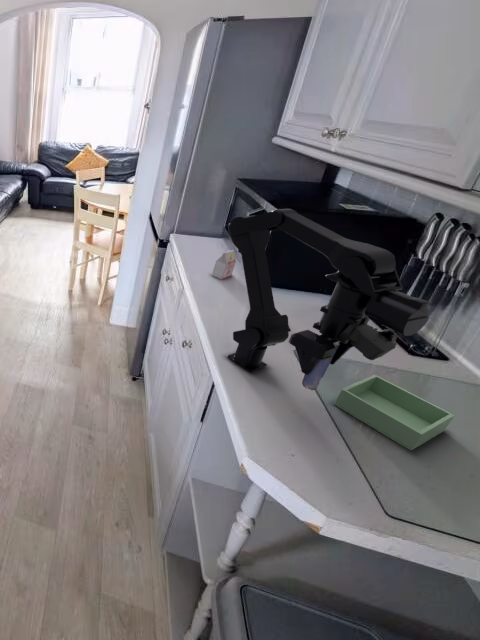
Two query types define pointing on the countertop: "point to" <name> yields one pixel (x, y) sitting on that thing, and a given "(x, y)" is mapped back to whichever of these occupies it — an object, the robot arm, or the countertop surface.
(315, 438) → the countertop surface
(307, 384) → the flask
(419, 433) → the bin
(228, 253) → the milk carton
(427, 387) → the countertop surface
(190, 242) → the countertop surface
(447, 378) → the countertop surface
